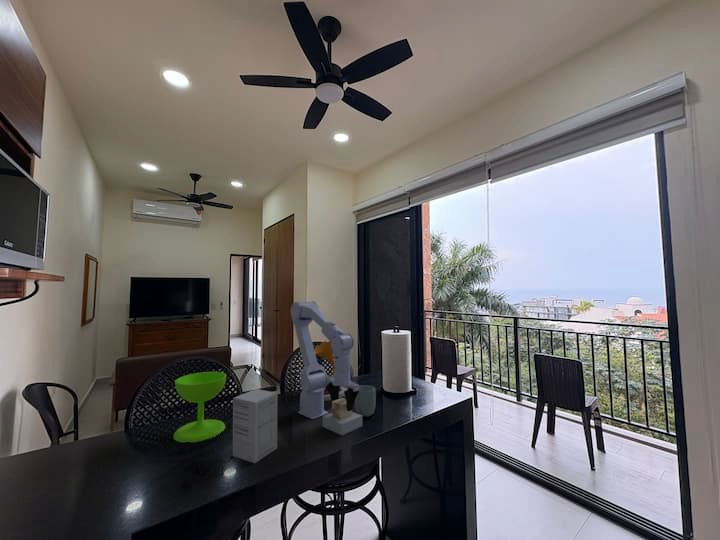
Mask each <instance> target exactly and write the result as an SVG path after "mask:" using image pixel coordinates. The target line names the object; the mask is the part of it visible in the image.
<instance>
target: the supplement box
mask: <svg viewBox="0 0 720 540" xmlns="http://www.w3.org/2000/svg"><path fill="white" fill-rule="evenodd" d="M277 449H278V393H277V392H273V391H271V390H270V391H268V390H264V389H259V388H255V389H253V390H251V391H248V392H245V393H242V394H239V395H238V396H235V397H233V398H232V456H233V457H235V458H238V459H241V460H244V461H247V462H250V463H253V464H256V463H258V462H259V461H260V460H262V459H263V458H265V457H267V456H268V455H270V454H271V453H272V452H274V451H276V450H277Z"/></svg>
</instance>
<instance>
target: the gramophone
mask: <svg viewBox="0 0 720 540" xmlns="http://www.w3.org/2000/svg"><path fill="white" fill-rule="evenodd" d="M314 351H315V355H316V356H318V357H321V358H324V359H326V360H327V361H328V362H329V363H330V364H331V366H332V372H328V374H327V376H328V378H329V377H334V355H333V350H332V348H331V342H330V341H329V340H328V341H327V340H324V341H322V343H320V344H319V345H315V347H314ZM332 375H333V376H332ZM327 385H329V384H327ZM346 390H348V388H344V387H341V386H340V390H339V399H340V398H341V397H342V398H344V397H345V394H344V391H346ZM343 396H344V397H343ZM326 401H332V400H331V397H330V394H329V391H328V390H327V388H326V387H325V390H324V402H326Z"/></svg>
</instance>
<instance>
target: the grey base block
mask: <svg viewBox="0 0 720 540" xmlns="http://www.w3.org/2000/svg"><path fill="white" fill-rule="evenodd" d="M363 418H364V417H363V416H362V415H360V414H358V413H357V412H353V411H352V416H350V417H347V418H345V419H342V420H341V419H338V418H336V417H333V416H332V412H330V413H328V414H326V415H323V416H322V428H325V429H327V430H329V431H332V432H334V433H336V434H338V435H339V436H345V435H346V434H348V433H351V432H353V431H355V430H357V429H359V428H361V427H363Z"/></svg>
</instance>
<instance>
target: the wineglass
mask: <svg viewBox="0 0 720 540" xmlns="http://www.w3.org/2000/svg"><path fill="white" fill-rule="evenodd" d="M226 382H227V373H225V372H219V371H204V372H195V373H190V374H186V375H183V376H180V377H179V378H177V379H175V380H174V385H175V386H174V387H175V389H176V392H177V394H178V395H179V396H180V397H181V398H182V399H183V400H184V401H187V402H189V403H194V404H196V403H197V420H196V421H192V422H189V423H186V424H185V425H182V426H181V427H179V428H178V429H177V430H176V431H175V432H174V433H173V437H172V438H173V440H174V441H176V442H179V443H185V442H190V443H197V442H203V440H204V441H206V439H207V440H210V439H212V437H213V438H215V437H217V436H219V435H221V434H222V433H223V432H225V430H226V424H225V423H224V422H223V421H221V420H218V419H204V418H205V417H204V414H205V413H204V412H205V402H208V401H211V400H212V399H214V398H215V397H216V396H218V395H219V394H220V392H221V391H222V390H223V388H224V386H225V384H226ZM224 429H225V430H224ZM222 431H223V432H222ZM221 432H222V433H221ZM220 433H221V434H220ZM218 434H219V435H218ZM216 435H217V436H216ZM209 438H210V439H209Z"/></svg>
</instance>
